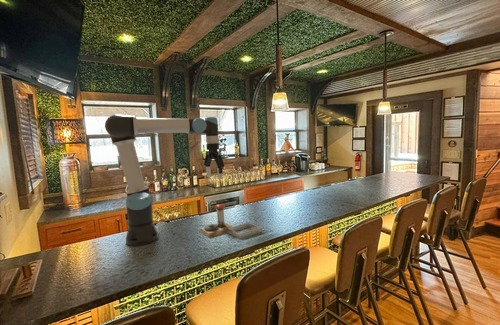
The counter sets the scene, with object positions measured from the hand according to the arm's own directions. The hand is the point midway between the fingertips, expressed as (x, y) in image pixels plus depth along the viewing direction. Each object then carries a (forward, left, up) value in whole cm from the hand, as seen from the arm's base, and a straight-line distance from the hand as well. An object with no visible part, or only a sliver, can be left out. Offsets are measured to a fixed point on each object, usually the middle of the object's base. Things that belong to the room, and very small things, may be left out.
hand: (214, 177), depth 153 cm
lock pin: (-8, -20, -25) cm, 33 cm away
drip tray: (-1, -32, -26) cm, 41 cm away
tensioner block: (-11, -20, -26) cm, 35 cm away
